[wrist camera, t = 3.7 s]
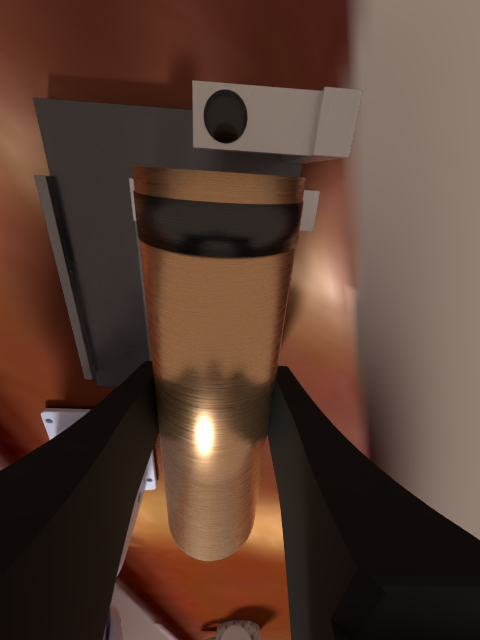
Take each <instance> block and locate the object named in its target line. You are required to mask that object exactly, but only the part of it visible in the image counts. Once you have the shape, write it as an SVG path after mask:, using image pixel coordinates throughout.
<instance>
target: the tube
mask: <svg viewBox="0 0 480 640" xmlns="http://www.w3.org/2000/svg"><path fill="white" fill-rule="evenodd" d="M132 172H133V181H134V190H133V195H134V204H135V214H136V223H137V233H138V238H139V240H140V249H141V259H142V269H143V278H144V288H145V298H146V308H147V317H148V327H149V337H150V346H151V356H152V366H153V376H154V385H155V395H156V405H157V414H158V424H159V434H160V444H161V453H162V463H163V473H164V482H165V492H166V502H167V512H168V521H169V528H170V531H171V534H172V537H173V539H174V541H175V542H176V544H177V545H178V546H179V548H180V549H181V550H182V551H184V552H185V553H186V554H188V555H189V556H191V557H193V558H196V559H199V560H203V561H215V560H220V559H223V558H226V557H228V556H230V555H231V554H233V553H235V552H236V551H237V550H238V549H239V548H240V547H241V546H242V545H243V544H244V543H245V541H246V540H247V539H248V537H249V535H250V533H251V530H252V527H253V524H254V519H255V512H256V505H257V499H258V492H259V486H260V479H261V472H262V466H263V459H264V453H265V446H266V439H267V433H268V426H269V420H270V413H271V406H272V400H273V393H274V387H275V380H276V373H277V367H278V360H279V354H280V347H281V340H282V334H283V327H284V321H285V314H286V307H287V301H288V294H289V288H290V281H291V274H292V268H293V261H294V255H295V248H296V246H297V243H298V236H299V230H300V223H301V217H302V210H303V204H304V201H303V195H304V189H305V182H306V178H304V177H290V176H275V175H261V174H246V173H231V172H217V171H202V170H188V169H173V168H158V167H144V166H132Z"/></svg>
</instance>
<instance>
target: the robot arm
mask: <svg viewBox="0 0 480 640" xmlns="http://www.w3.org/2000/svg"><path fill="white" fill-rule="evenodd" d="M41 417H42V420H43V422H44V425H45V428H46V431H47V433H48V436H49V439H50V440H49V441H48V442H46V443H45V444H43V445H42V446H40V447H38V448H37V449H35V450H34V451H32V452H30V453H29V454H27V455H26V456H24V457H22V458H21V459H19V460H18V461H16V462H14V463H13V464H11V465H10V466H8V467H6V468H4V469H3V470H1V471H0V640H123V639H122V628H121V619H120V615H119V611H118V609H117V608H116V607H115V606H113V605H111V602H112V599H113V594H114V592H115V588H116V583H115V582H116V577H117V576H118V574H119V572H120V570H121V568H122V565H123V563H124V560H125V556H126V553H127V549H128V546H129V542H130V539H131V536H132V532H133V529H134V525H135V522H136V518H137V515H138V511H139V508H140V504H141V501H142V497H143V494H144V490H153V489H155V488H156V486H157V478H156V470H155V462H154V454H153V447H154V445H155V442H156V439H157V436H158V433H159V424H158V414H157V405H156V395H155V385H154V376H153V366H152V361H145V362H143V363H142V364H141V365H140V366H139V367H138V368H137V369H136V370H135V371H134V372H133V373H132V374H131V375H130V376H129V377H127V378H126V379H125V380H124V381H123V382H122V383H121V384H120V385H119V386H118V387H117V388H116V389H114V390H113V391H112V392H111V393H110V394H109V395H108V396H107V397H106V398H104V399H103V400H102V401H101V402H100V403H98V404H97V405H96V406H95V407H94V408H92V409H64V408H46V409H44V410H43V411H42V413H41ZM267 434H268V439H269V445H270V450H271V456H272V461H273V466H274V472H275V477H276V482H277V488H278V493H279V500H280V508H281V518H282V528H283V539H284V550H285V562H286V573H287V586H288V600H289V613H290V627H291V640H480V540H479V539H477V538H476V537H474V536H473V535H471V534H470V533H468V532H467V531H465V530H464V529H462V528H461V527H459V526H458V525H456V524H455V523H453V522H452V521H450V520H449V519H447V518H445V517H444V516H443V515H441V514H439V513H438V512H437V511H435V510H434V509H432V508H431V507H429V506H428V505H427V504H425V503H424V502H423V501H421V500H420V499H418V498H417V497H416V496H414V495H413V494H412V493H410V492H409V491H407V490H406V489H405V488H404V487H402V486H401V485H400V484H398V483H397V482H396V481H394V480H393V479H392V478H391V477H390V476H388V475H387V474H386V473H385V472H384V471H382V470H381V469H380V468H379V467H378V466H376V465H375V464H374V463H373V462H372V461H370V460H369V459H368V458H367V457H366V456H365V455H364V454H362V453H361V452H360V451H359V450H358V449H357V448H356V447H355V446H354V445H353V444H352V443H351V442H350V441H349V440H348V439H347V438H346V437H345V436H344V435H343V434H342V433H341V432H340V431H339V430H338V429H337V428H336V427H335V426H334V425H333V424H332V423H331V422H330V420H329V419H328V418H327V417H326V416H325V415H324V414H323V412H322V411H321V410H320V409H319V408H318V406H317V405H316V404H315V403H314V401H313V400H312V399H311V398H310V397H309V395H308V394H307V393H306V391H305V390H304V389H303V387H302V386H301V385H300V383H299V382H298V380H297V379H296V378H295V376H294V375H293V373H292V372H291V371H290V369H289V368H288V367H287V366H278V367H277V373H276V380H275V387H274V393H273V400H272V406H271V413H270V420H269V426H268V433H267Z"/></svg>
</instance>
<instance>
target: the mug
mask: <svg viewBox="0 0 480 640" xmlns="http://www.w3.org/2000/svg"><path fill="white" fill-rule="evenodd" d="M207 640H260V626H259V625H258V624H257V623H255V622H252V621H247V620H232V621H227V622H223V623H221V624H219V625H218V626H217V636H216V637H211V638H209V639H207Z"/></svg>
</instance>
